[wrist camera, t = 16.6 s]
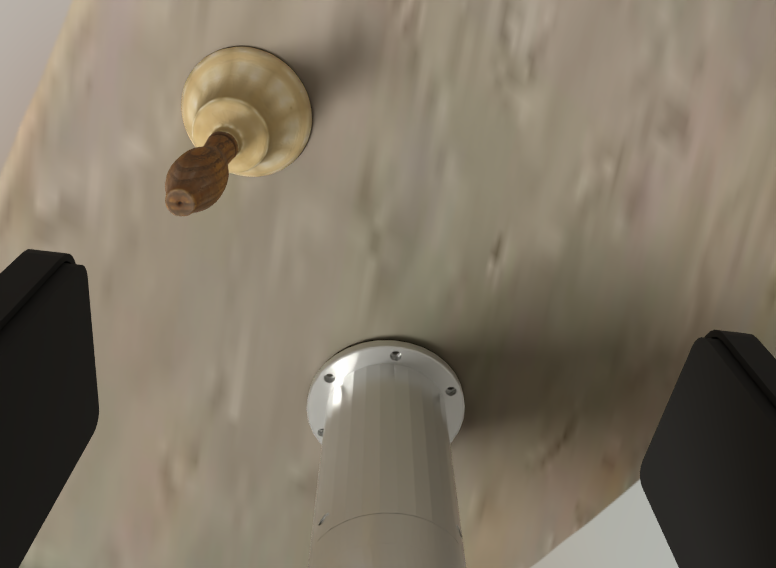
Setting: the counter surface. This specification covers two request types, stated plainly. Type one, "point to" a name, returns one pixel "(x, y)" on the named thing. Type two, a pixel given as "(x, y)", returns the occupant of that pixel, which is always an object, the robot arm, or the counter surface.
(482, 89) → the counter surface
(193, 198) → the hand bell
